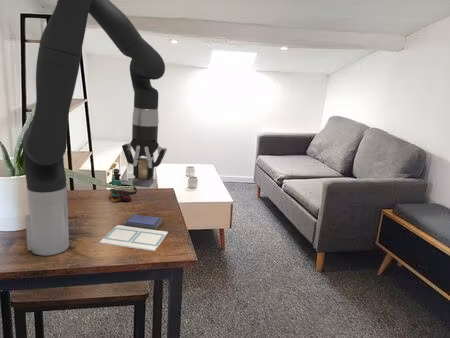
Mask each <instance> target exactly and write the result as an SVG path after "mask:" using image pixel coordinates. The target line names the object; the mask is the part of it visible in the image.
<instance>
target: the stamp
mask: <svg viewBox="0 0 450 338" xmlns="http://www.w3.org/2000/svg"><path fill="white" fill-rule="evenodd" d="M148 168H149V167H148V161H147V158H146V157H141V158H140V159H138V178H135V177H133V178H132V186H134V187H141V188H150V187H151V186H152V185H153V184H154V176H153V177H152V178H151V179H150V180H148V179H147V174H148Z"/></svg>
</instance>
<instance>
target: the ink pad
mask: <svg viewBox="0 0 450 338" xmlns="http://www.w3.org/2000/svg"><path fill="white" fill-rule="evenodd" d="M163 219H164V218H163V217H158V216H148V215H141V214H135V213H134V214H132V215H130V216H129V218H128V219H126V221H125V222H124V223H123V224H124V225H123V226H129V227H136V228H143V229H151V230H157V229H159V227H160V226H161V224H162V223H163V222H164V221H163Z"/></svg>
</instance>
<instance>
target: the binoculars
mask: <svg viewBox="0 0 450 338" xmlns="http://www.w3.org/2000/svg"><path fill="white" fill-rule="evenodd" d="M112 173H113V174H112V176H111V181H109V182H108V185H109V184H112V185H117V186H133V185H131V184H127V183H126V184H125V183H123V184H122V180H121V178H120V177H121V176H122V175H121V173H120V169H118V168H114V169H113V170H112ZM133 187H134V188H133V189H132V190H134V191H127V190H123V189H121V190H115V189H110V188H109V189H110V193H109V197H110V202H112V203H115V202H118V201H125V202H131V200H132V197H131V196H133V195H136V194H137V193H138V188H136V186H133Z"/></svg>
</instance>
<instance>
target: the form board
mask: <svg viewBox="0 0 450 338" xmlns="http://www.w3.org/2000/svg"><path fill="white" fill-rule="evenodd" d="M168 233H169V231H166V230H165V231H164V230H157V229H156V230H151V229H143V228H136V227H129V226H124V225H121V224H120V225H119V224H116V226H115V227H114V228H112V230H110V231H109V233H108V234H106V235H105V236H104V237H103V238H102V239H101V240H100V241H99V245H100V244H103V245H108V246H115V247H120V248H121V247H122V248H123V247H124V248H131V249H136V250H137V249H138V250H145V251H150V252H156V251H157V249H158V248H159V246H160V245H161V243H162V242H163V241H164V239H165V238H166V236H168Z"/></svg>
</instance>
